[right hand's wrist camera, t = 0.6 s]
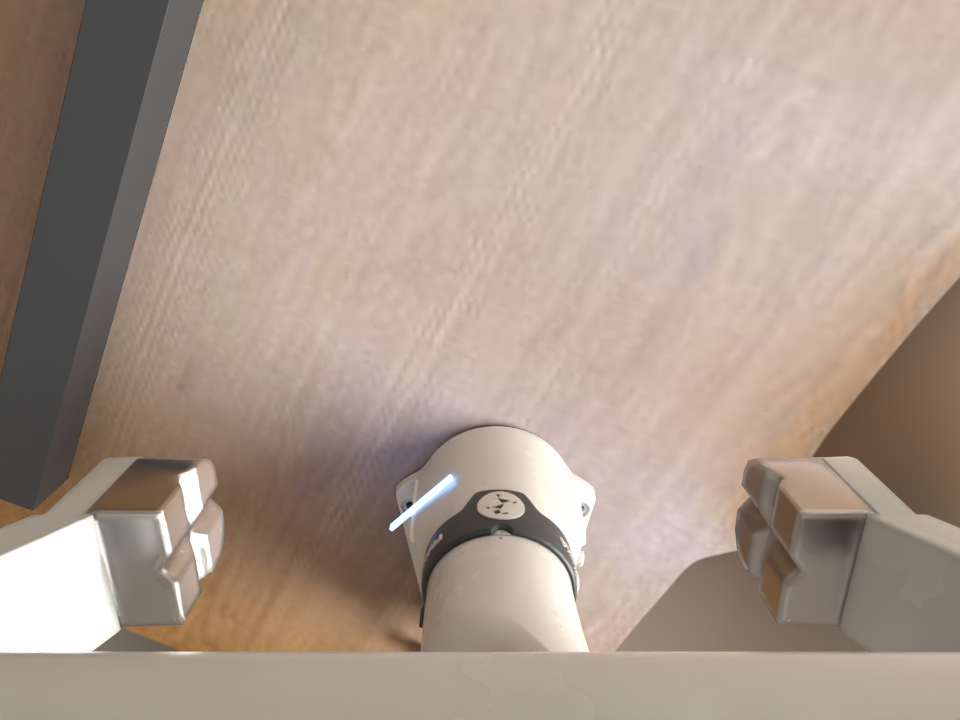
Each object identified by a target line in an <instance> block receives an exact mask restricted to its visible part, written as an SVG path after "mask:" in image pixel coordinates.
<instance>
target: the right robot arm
mask: <svg viewBox="0 0 960 720" xmlns="http://www.w3.org/2000/svg"><path fill="white" fill-rule="evenodd" d="M217 486H218V480H217V475H216V470H215V465H214V464H213V463H212V462H211V461H210V460H209V458H156V457H145V458H142V457H111V458H104V459H103V460H102V461H101V462H100V463H99V464H97V465H96V466H95V467H94V468H93V469H92V470H91V471H90V472H89V473H88V474H87V475H86V476H85V477H84V478H83V479H81V480H80V481H79V482H78V483H77V484H76V485H75V486H74V487H73V488H72V489H71V490H70V491H69V492H68V493H67V494H65V495H64V496H63V497H62V498H61V499H60V500H59V501H58V502H57V503H56V504H55V505H54V506H53V507H52V508H51V509H49V510H48V511H47V512H46V513H45V514H44V515H31V516H29V517H26V518H24V519H21V520H19V521H16V522H14V523H12V524H9V525H7V526H4V527H2V528H0V720H960V528H958V527H956V526H953V525H951V524H948V523H946V522H944V521H941V520H939V519H936V518H934V517H931V516H929V515H916V514H915V513H914V512H913V511H912V510H911V509H910V508H908V507H907V506H906V505H905V504H904V503H903V502H902V501H901V500H900V499H899V498H898V497H897V496H896V495H895V494H894V493H893V492H891V491H890V490H889V489H888V488H887V487H886V486H885V485H884V484H883V483H882V482H881V481H880V480H879V479H878V478H877V477H876V476H874V475H873V474H872V473H871V472H870V471H869V470H868V469H867V468H866V467H865V466H864V465H863V464H862V463H861V462H860V461H858V460H857V459H855V458H852V457H848V456H847V457H824V458H821V457H809V458H768V459H752V460H748V463H747V465H746V467H745V469H744V474H743V479H742V486H743V487H744V489H745V490H746V492H747V494H748V495H749V498H748V499H747V500H746V501H745V502H744V504H743V505H742V506H741V507H740V508H739V509H738V510H737V518H736V526H735V533H736V544H737V549H738V552H739V556H740V559H741V561H742V563H743V565H744V567H745V568H746V570H747V572H749V573H750V574H752V575H754V576H755V577H757V578H758V579H760V580H761V582H760V588H759V593H760V595H761V597H762V599H763V600H764V602H765V604H766V605H767V607H768V609H769V611H770V612H771V614H772V616H773V617H774V619H775V621H776V623H777V624H778V625H796V626H832V627H839V630H841V631H842V632H843V633H845V634H846V635H847V636H849V637H850V638H851V639H853V640H854V641H855V642H857V643H858V644H859V645H861V646H862V647H863V648H865V649H866V650H867V651H868V652H589V649H588V647H587V643H586V640H585V637H584V634H583V631H582V627H581V624H580V620H579V616H578V613H577V608H576V604H575V602H576V597H577V594H578V590H579V574H578V573H577V572H576V566H580V567H581V566H582V565H583V563H584V552H583V551H581V550H580V549H581V546H583V545H585V543H586V534H585V530H586V527H587V524H588V521H589V518H590V515H591V512H592V509H593V506H594V503H595V491H594V488H593V487H592V486H591V485H590V484H589V483H588V482H586V481H585V480H583V479H582V478H580V477H578V476H577V475H575V474H573V473H572V472H571V471H570V470H569V468H568V467H567V466H566V464H565V463H564V461H563V460H562V458H561V457H560V455H559V454H558V453H557V452H556V451H555V449H553V448H552V447H551V446H550V445H549V444H548V443H547V442H545V441H544V440H542V439H541V438H539V437H537V436H536V435H534V434H532V433H529V432H527V431H524V430H521V429H517V428H512V427H505V426H487V427H480V428H475V429H472V430H468V431H465V432H463V433H461V434H458V435H456V436H455V437H453V438H451V439H449V440H448V441H447V442H445V443H444V444H443V445H442V446H440V447H439V448H438V449H437V450H436V451H435V452H434V454H433V455H432V456H431V457H430V459H429V460H428V461H427V463H426V464H425V465H424V466H423V467H422V468H421V469H420V470H419V471H417V472H415V473H413V474H412V475H410V476H408V477H406V478H405V479H403V480H402V481H401V482H400V483H399V484H398V485H397V487H396V500H397V504H398V508H399V512H400V517H398V518H397V519H396V520H395V521H394V522H393V523H391V525H390V530H391V531H393V530H394V529H395V528H397V527H398V526H399V525H400V524H401V523H403V527H404V531H405V535H406V539H407V543H408V547H409V550H410V554H411V558H412V562H413V566H414V570H415V574H416V578H417V581H418V585H419V589H420V593H421V597H422V601H423V604H424V606H423V608H422V609H421V615H420V624H419V627H421V628H423V631H422V640H421V650H420V652H92V651H93V650H94V649H96V648H97V647H98V646H100V645H101V644H102V643H104V642H105V641H106V640H108V639H109V638H110V637H112V636H113V635H114V634H116V633H117V632H118V631H120V629H121V628H120V627H127V626H163V625H183V623H184V621H185V619H186V618H187V616H188V614H189V612H190V611H191V609H192V607H193V606H194V604H195V602H196V600H197V599H198V597H199V595H200V593H201V588H200V582H199V580H200V579H202V578H203V577H205V576H206V575H208V574H210V573H211V572H213V570H214V568H215V567H216V565H217V563H218V561H219V559H220V556H221V552H222V548H223V543H224V532H225V523H224V516H223V510H222V509H221V508H220V507H219V506H218V505H217V504H216V502H215V501H214V500H213V499H212V498H211V495H212V494H213V492H214V490H215V489H216V487H217ZM407 502H413V504H412V505H409V504H408V503H407ZM581 505H583V506H582V507H581Z"/></svg>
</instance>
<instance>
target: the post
mask: <svg viewBox="0 0 960 720" xmlns="http://www.w3.org/2000/svg"><path fill="white" fill-rule="evenodd" d="M202 3H203V0H86V5H85V9H84V13H83V18H82V22H81V27H80V31H79V36H78V40H77V44H76V49H75V53H74V58H73V62H72V66H71V71H70V75H69V80H68V84H67V88H66V93H65V97H64V102H63V106H62V110H61V115H60V119H59V124H58V128H57V132H56V137H55V141H54V146H53V150H52V154H51V159H50V163H49V168H48V172H47V177H46V181H45V185H44V190H43V194H42V199H41V203H40V207H39V212H38V216H37V221H36V225H35V229H34V234H33V238H32V243H31V247H30V251H29V256H28V260H27V265H26V269H25V273H24V278H23V282H22V287H21V291H20V295H19V300H18V304H17V309H16V313H15V318H14V322H13V326H12V331H11V335H10V340H9V344H8V348H7V353H6V357H5V362H4V366H3V370H2V375H1V379H0V499H2V500H5V501H7V502H10V503H13V504H16V505H19V506H21V507H24V508H27V509H30V510H34V509H36V508H37V507H38V506H39V505H40V504H41V503H42V502H43V501H44V500H45V499H46V498H47V497H48V496H49V495H51V494H52V493H53V492H54V491H55V490H56V489H57V488H58V487H59V486H60V485H61V484H62V483H63V482H64V481H66V480H67V479H68V475H69V472H70V468H71V465H72V461H73V458H74V454H75V451H76V447H77V444H78V440H79V437H80V433H81V430H82V426H83V423H84V419H85V415H86V412H87V408H88V405H89V401H90V398H91V394H92V391H93V387H94V384H95V380H96V377H97V373H98V370H99V366H100V363H101V359H102V356H103V352H104V349H105V345H106V341H107V338H108V334H109V331H110V327H111V324H112V320H113V317H114V313H115V310H116V306H117V303H118V299H119V296H120V292H121V289H122V285H123V282H124V278H125V275H126V271H127V268H128V264H129V260H130V257H131V253H132V250H133V246H134V243H135V239H136V236H137V232H138V229H139V225H140V222H141V218H142V215H143V211H144V208H145V204H146V201H147V197H148V194H149V190H150V186H151V183H152V179H153V176H154V172H155V169H156V165H157V162H158V158H159V155H160V151H161V148H162V144H163V141H164V137H165V134H166V130H167V127H168V123H169V120H170V116H171V113H172V109H173V105H174V102H175V98H176V95H177V91H178V88H179V84H180V81H181V77H182V74H183V70H184V67H185V63H186V60H187V56H188V53H189V49H190V46H191V42H192V39H193V35H194V31H195V28H196V24H197V21H198V17H199V14H200V10H201V7H202Z"/></svg>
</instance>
